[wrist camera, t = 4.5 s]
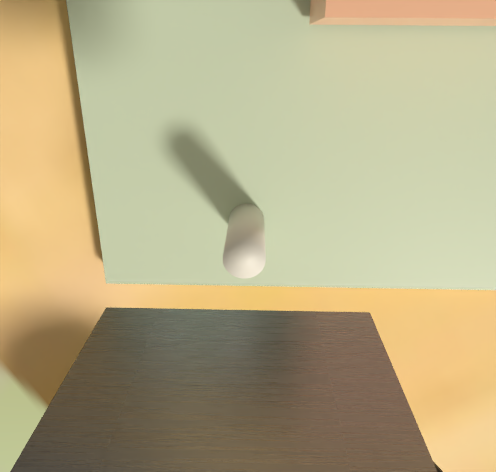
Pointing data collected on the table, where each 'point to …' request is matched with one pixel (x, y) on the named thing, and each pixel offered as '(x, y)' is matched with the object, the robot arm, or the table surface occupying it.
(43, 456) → the gray metal block
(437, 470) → the robot arm
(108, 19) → the board
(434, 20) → the cover
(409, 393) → the table surface
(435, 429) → the table surface
